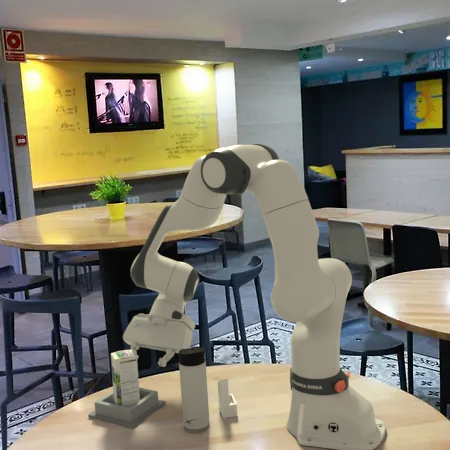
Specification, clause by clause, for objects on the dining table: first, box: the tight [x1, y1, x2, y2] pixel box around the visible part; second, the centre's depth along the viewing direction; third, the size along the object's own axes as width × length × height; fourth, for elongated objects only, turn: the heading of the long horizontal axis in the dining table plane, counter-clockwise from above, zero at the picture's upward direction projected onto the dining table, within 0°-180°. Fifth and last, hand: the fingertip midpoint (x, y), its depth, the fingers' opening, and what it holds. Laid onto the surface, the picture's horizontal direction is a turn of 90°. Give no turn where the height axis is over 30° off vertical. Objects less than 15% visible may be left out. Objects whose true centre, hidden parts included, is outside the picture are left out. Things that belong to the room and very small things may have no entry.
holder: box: [87, 387, 167, 430], centre depth 151 cm, size 14×14×4 cm
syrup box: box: [110, 349, 140, 408], centre depth 150 cm, size 6×6×14 cm
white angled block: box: [217, 378, 238, 419], centre depth 147 cm, size 4×10×9 cm, turn 9°
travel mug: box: [178, 346, 211, 434], centre depth 140 cm, size 6×7×20 cm
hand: (146, 363), depth 158 cm, fingers open, 8 cm apart
